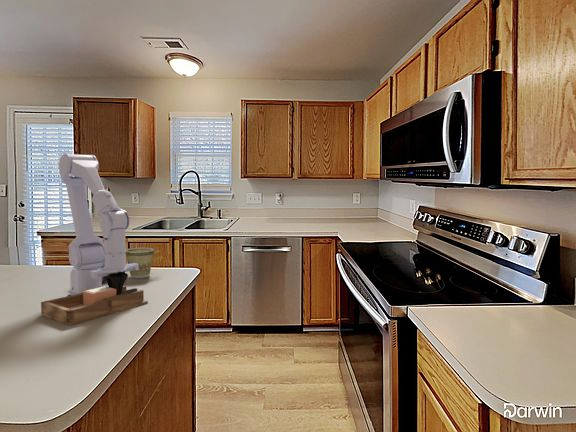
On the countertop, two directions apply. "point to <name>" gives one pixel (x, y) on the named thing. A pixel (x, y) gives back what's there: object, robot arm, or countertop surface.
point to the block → (97, 295)
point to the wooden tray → (90, 306)
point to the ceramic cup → (141, 261)
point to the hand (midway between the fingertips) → (116, 298)
